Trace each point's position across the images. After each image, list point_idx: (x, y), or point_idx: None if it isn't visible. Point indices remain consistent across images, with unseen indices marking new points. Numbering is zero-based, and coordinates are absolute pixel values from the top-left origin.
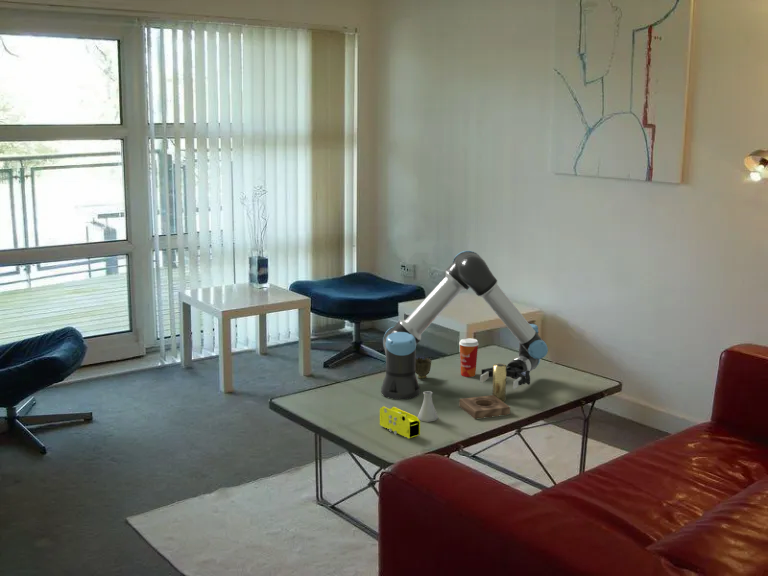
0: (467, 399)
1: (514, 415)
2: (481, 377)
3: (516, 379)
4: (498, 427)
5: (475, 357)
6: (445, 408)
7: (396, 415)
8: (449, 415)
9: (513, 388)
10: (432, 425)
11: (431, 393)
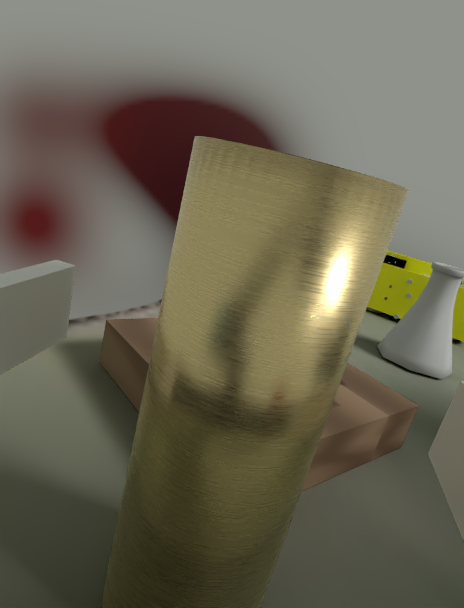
0: (373, 398)
1: (72, 357)
2: (460, 399)
3: (9, 284)
4: (156, 304)
5: None
6: (439, 427)
7: (417, 268)
8: (367, 374)
9: (60, 333)
10: (362, 332)
11: (433, 262)
